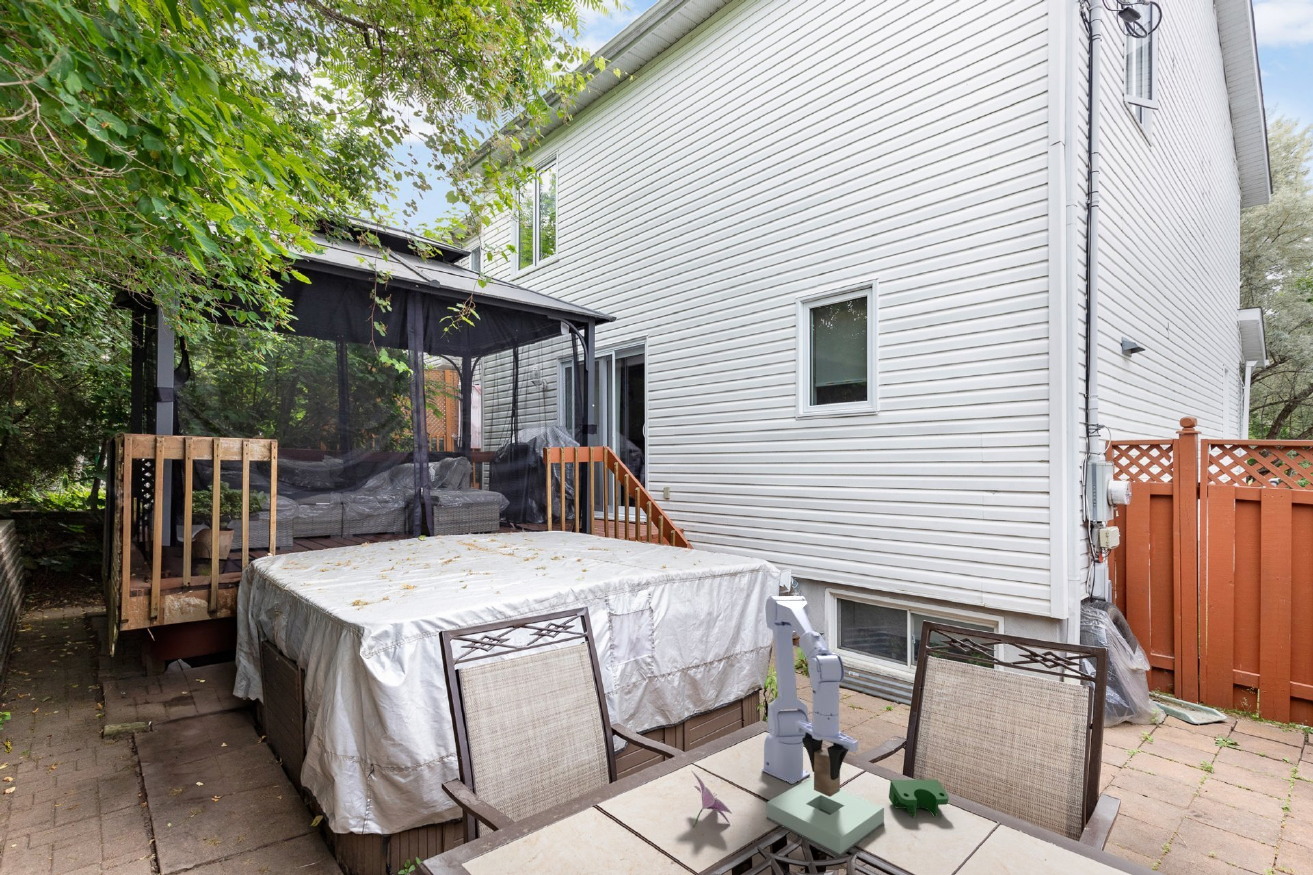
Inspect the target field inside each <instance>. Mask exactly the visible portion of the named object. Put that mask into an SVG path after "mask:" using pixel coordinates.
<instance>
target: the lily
mask: <svg viewBox="0 0 1313 875" xmlns="http://www.w3.org/2000/svg"><path fill="white" fill-rule="evenodd" d="M691 773H692V774H693V775H694V777H695V779H696V780H697V782H698V784H699V786H697V785H694V786H693V788H695V789H696V790H697V791H698V792H700V794H701V805H702V806H701V809H700V810H699V813H698V815H697V817H696V819H695V821H694V824H693V828H696V825H697V822H698V820H699V817H700V816H701V813H702V812H703V810H704V809H705V810H711V811H715V812H717V813H719V814H720V815H721V816H722V817H723V819H724V820H725V821H726V823H728V825H731V823H730V821H729V819H728V818H727V816H726V815H725V814H724V812H725V813H729V814H731V815H733V813H732V811H731V810H730V809H729V808H728V807H727V805H726V804H724V802H722V801H721V800H720V799H719V798H718V797H716V796H717V795H718V794H717V793H712V791H711V790H710V789H709V788H708V787H706V785H705V784H704V782H703V781H702V780H701V779H700V777H699V776H698V775H697V774H696V773H695V772H694V771H693V770H691Z"/></svg>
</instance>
